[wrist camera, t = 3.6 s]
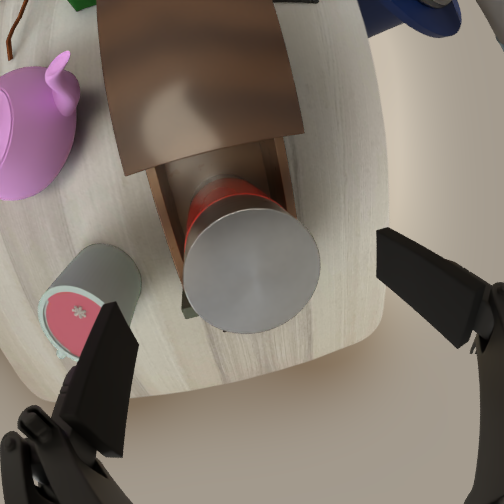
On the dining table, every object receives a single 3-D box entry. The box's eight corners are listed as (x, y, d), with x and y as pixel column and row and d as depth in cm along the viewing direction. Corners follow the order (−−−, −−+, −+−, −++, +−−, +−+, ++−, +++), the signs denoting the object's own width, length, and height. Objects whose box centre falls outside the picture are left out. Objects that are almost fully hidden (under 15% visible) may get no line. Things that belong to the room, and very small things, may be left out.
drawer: (296, 287, 34) (318, 319, 27) (197, 314, 32) (199, 352, 26) (265, 110, 25) (286, 100, 19) (143, 139, 24) (126, 137, 18)
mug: (96, 227, 27) (58, 264, 18) (156, 278, 31) (143, 331, 22) (50, 301, 29) (19, 347, 20) (101, 341, 33) (84, 394, 23)
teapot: (105, 37, 19) (61, -11, 8) (135, 145, 25) (91, 146, 13) (-17, 122, 18) (-80, 128, 6) (8, 216, 24) (-53, 254, 12)
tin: (252, 166, 26) (313, 191, 12) (266, 232, 29) (325, 313, 15) (181, 183, 25) (161, 229, 12) (200, 249, 28) (205, 348, 15)
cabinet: (274, 135, 27) (304, 133, 19) (146, 167, 26) (125, 176, 18) (241, -2, 20) (258, -43, 12) (119, 25, 19) (95, -10, 11)
